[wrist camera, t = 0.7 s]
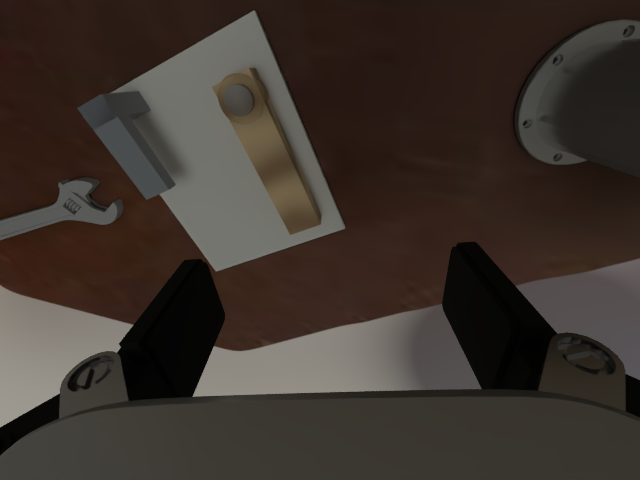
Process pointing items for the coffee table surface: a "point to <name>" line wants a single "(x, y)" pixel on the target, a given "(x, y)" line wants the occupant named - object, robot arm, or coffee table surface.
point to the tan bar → (268, 148)
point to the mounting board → (209, 146)
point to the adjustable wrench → (64, 209)
